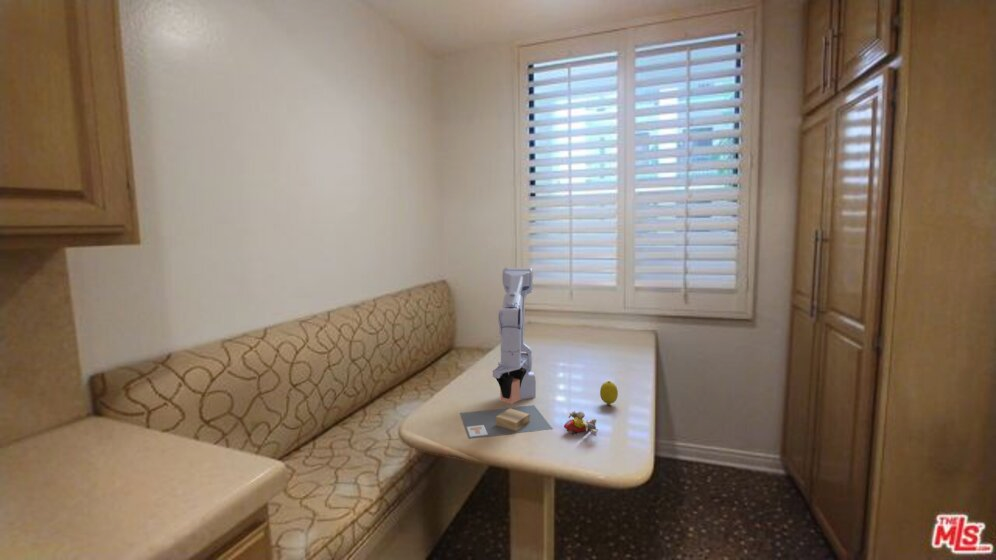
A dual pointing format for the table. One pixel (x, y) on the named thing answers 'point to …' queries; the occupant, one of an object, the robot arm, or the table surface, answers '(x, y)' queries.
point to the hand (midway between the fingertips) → (510, 395)
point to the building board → (485, 425)
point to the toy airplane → (580, 423)
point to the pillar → (513, 392)
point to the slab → (513, 419)
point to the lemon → (608, 392)
